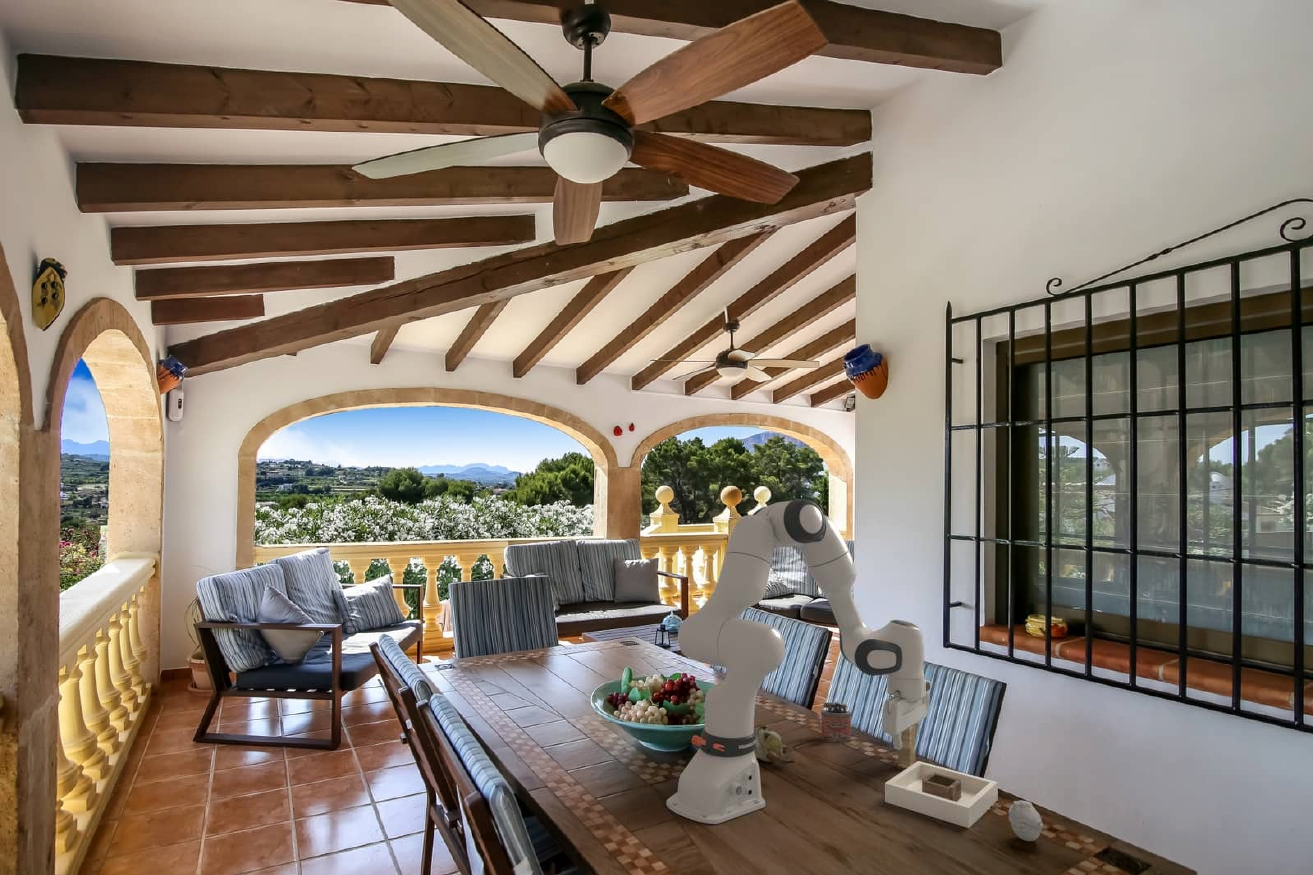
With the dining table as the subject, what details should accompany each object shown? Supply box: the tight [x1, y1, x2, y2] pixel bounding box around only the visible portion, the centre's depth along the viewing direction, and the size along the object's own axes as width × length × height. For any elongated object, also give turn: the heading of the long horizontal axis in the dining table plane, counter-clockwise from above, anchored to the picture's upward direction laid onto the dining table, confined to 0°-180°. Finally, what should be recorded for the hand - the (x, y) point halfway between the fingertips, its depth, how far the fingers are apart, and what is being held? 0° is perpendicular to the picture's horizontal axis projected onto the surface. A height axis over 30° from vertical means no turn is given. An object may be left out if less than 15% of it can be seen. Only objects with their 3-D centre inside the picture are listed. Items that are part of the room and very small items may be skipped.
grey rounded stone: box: [1008, 800, 1044, 842], centre depth 148 cm, size 6×7×7 cm
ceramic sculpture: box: [754, 725, 797, 766], centre depth 188 cm, size 11×9×15 cm
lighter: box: [820, 701, 852, 743], centre depth 203 cm, size 8×3×10 cm, turn 84°
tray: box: [884, 760, 999, 829], centre depth 165 cm, size 18×18×4 cm
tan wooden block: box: [897, 725, 916, 769], centre depth 185 cm, size 3×3×10 cm
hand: (906, 743), depth 185 cm, fingers open, 8 cm apart
